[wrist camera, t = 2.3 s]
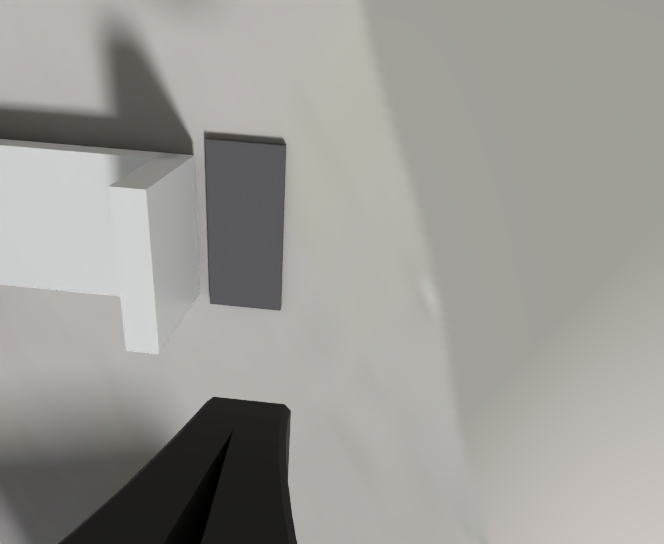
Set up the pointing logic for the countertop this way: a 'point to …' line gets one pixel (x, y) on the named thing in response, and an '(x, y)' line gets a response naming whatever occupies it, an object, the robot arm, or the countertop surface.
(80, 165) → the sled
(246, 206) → the pad
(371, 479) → the countertop surface
